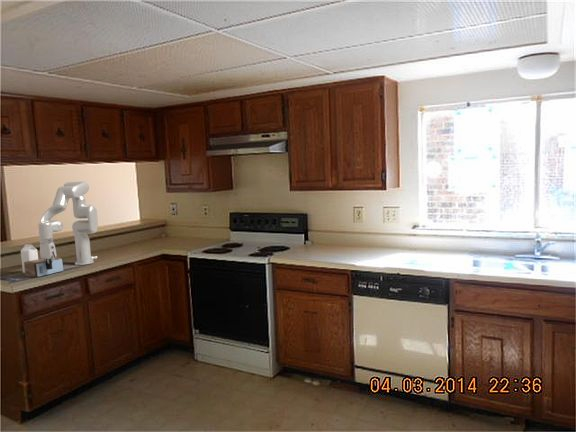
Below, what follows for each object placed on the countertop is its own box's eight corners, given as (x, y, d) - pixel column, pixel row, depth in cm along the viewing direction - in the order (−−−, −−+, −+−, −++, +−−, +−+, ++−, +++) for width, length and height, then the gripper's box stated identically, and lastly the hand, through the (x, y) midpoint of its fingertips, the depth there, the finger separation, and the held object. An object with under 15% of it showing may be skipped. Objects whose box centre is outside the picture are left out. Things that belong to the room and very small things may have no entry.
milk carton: (30, 273, 298) (27, 245, 296) (22, 272, 301) (19, 245, 299) (39, 271, 305) (36, 243, 303) (32, 270, 307) (29, 243, 306)
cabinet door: (62, 270, 300) (60, 258, 299) (64, 270, 299) (63, 258, 298) (37, 276, 284) (36, 264, 283) (39, 276, 283) (38, 264, 282)
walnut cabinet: (52, 269, 307) (50, 256, 306) (62, 271, 300) (60, 258, 300) (25, 275, 292) (23, 262, 291) (35, 277, 285) (33, 263, 284)
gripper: (59, 240, 286) (62, 268, 288) (44, 240, 292) (47, 267, 294) (49, 242, 279) (51, 271, 281) (33, 241, 286) (36, 269, 287)
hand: (49, 269), depth 287 cm, fingers closed
